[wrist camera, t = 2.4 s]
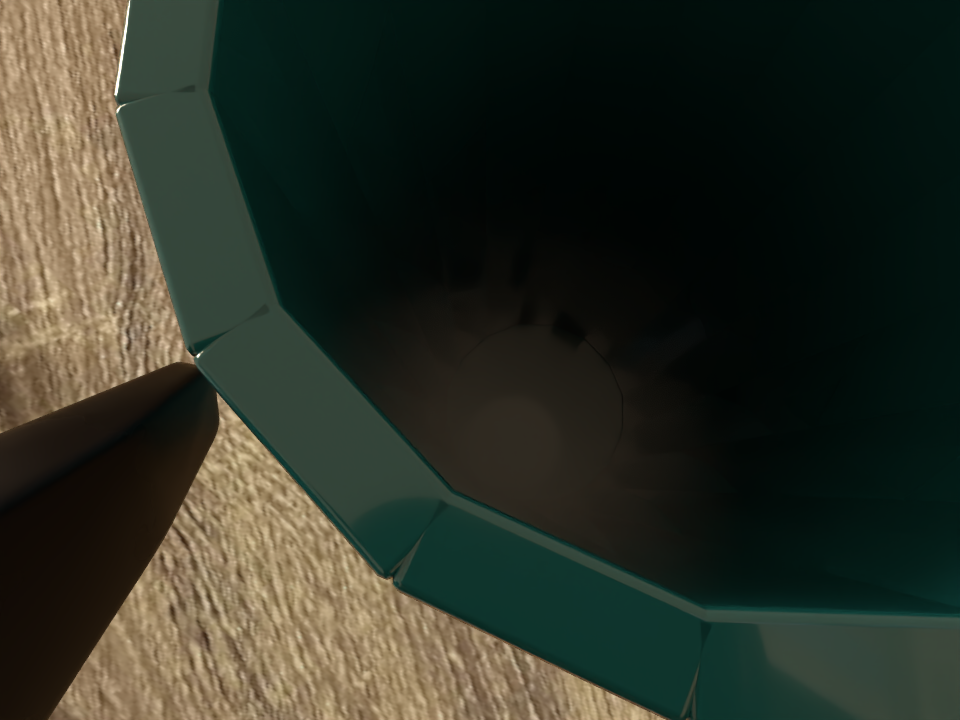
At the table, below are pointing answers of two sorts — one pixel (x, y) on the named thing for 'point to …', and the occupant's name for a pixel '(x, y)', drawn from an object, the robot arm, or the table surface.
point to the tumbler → (593, 318)
